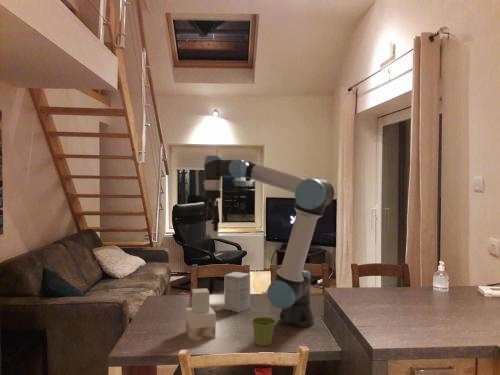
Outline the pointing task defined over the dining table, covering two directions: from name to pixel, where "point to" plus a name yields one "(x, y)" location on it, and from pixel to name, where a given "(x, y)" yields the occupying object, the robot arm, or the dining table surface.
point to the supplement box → (237, 291)
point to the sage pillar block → (200, 300)
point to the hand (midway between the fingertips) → (211, 236)
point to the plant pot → (263, 330)
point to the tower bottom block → (200, 333)
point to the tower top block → (200, 318)
